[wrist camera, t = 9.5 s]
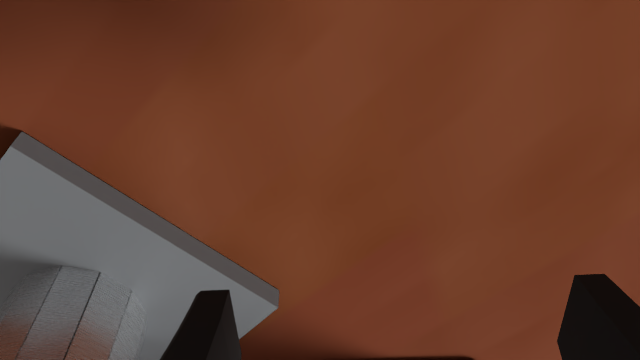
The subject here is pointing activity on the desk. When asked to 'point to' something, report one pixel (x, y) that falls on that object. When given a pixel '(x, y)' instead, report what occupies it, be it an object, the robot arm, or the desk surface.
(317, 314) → the desk surface
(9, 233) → the duct board
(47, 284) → the collar
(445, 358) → the desk surface
